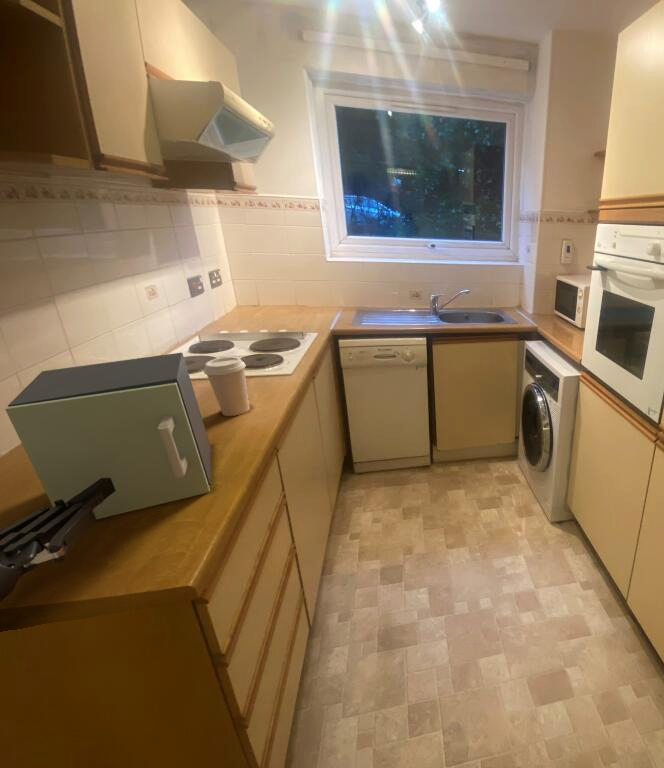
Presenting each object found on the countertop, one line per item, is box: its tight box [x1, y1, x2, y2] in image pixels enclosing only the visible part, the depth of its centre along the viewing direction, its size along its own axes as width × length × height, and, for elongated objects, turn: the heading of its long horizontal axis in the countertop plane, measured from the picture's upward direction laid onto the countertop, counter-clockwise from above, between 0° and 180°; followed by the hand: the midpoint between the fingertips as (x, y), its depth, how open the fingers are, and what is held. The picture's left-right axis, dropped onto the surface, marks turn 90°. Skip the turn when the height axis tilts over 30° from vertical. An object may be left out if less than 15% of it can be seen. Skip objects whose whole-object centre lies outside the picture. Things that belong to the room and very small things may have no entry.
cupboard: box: [7, 352, 211, 486], centre depth 86 cm, size 18×22×24 cm
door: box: [4, 383, 211, 520], centre depth 75 cm, size 7×22×24 cm, turn 119°
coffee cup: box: [203, 356, 251, 417], centre depth 118 cm, size 10×10×15 cm
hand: (108, 484), depth 74 cm, fingers closed
